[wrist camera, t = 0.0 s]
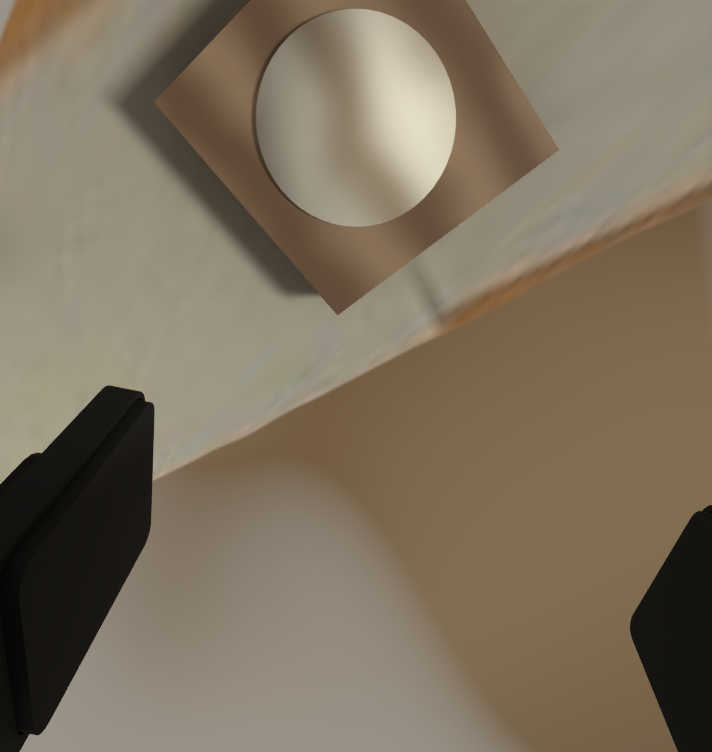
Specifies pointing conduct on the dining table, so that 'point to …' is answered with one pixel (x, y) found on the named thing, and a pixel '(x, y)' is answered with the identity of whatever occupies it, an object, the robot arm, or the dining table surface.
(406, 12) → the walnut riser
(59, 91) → the dining table surface
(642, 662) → the robot arm
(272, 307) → the dining table surface
